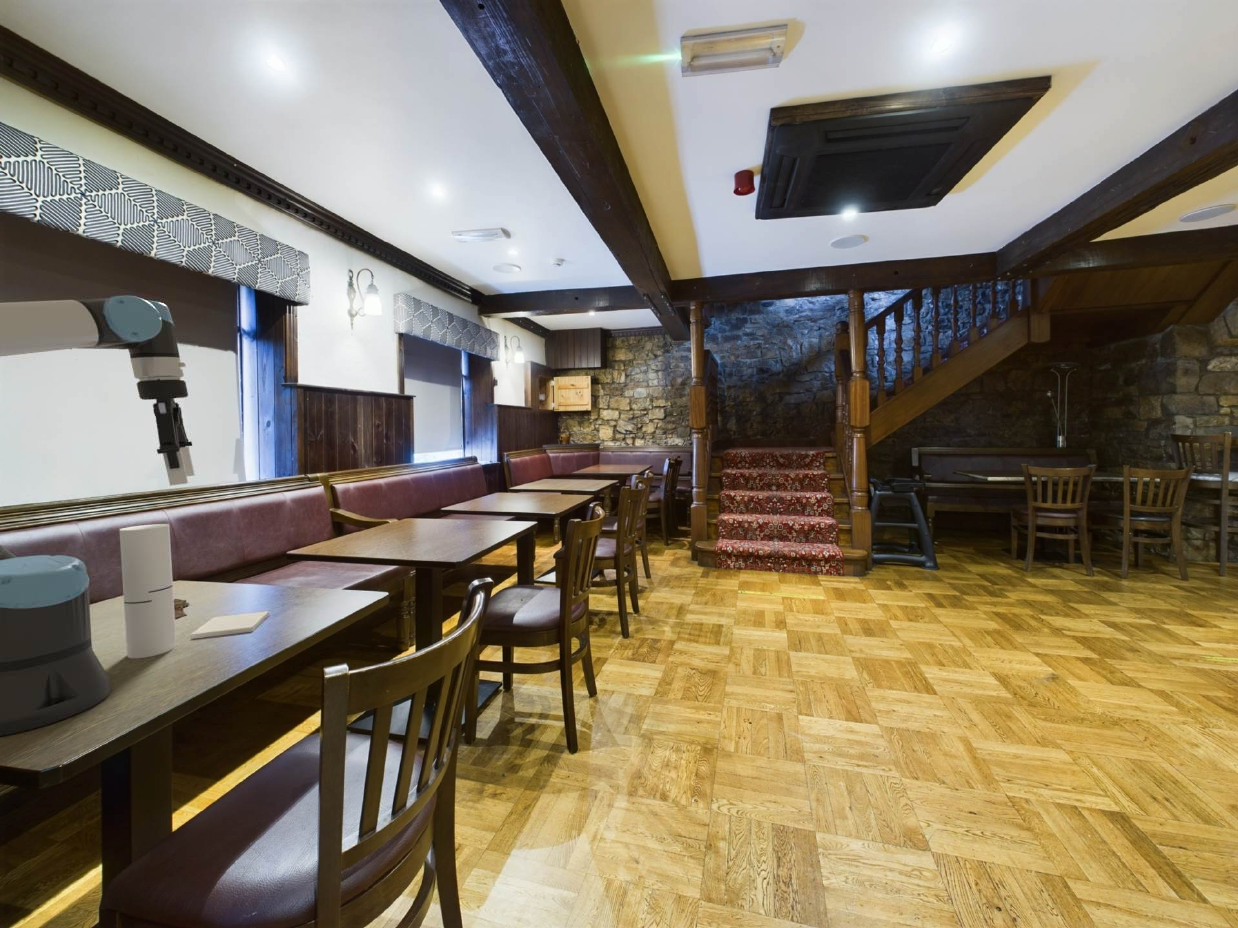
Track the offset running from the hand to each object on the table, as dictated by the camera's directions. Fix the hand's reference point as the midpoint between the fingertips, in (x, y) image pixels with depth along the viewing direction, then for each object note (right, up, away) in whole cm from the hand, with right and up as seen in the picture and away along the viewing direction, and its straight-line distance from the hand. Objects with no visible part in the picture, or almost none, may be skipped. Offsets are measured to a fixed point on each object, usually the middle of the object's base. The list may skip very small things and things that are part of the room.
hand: (183, 480), depth 105 cm
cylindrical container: (-1, -34, -6) cm, 35 cm away
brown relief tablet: (-22, -34, +18) cm, 44 cm away
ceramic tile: (+6, -33, +6) cm, 34 cm away
